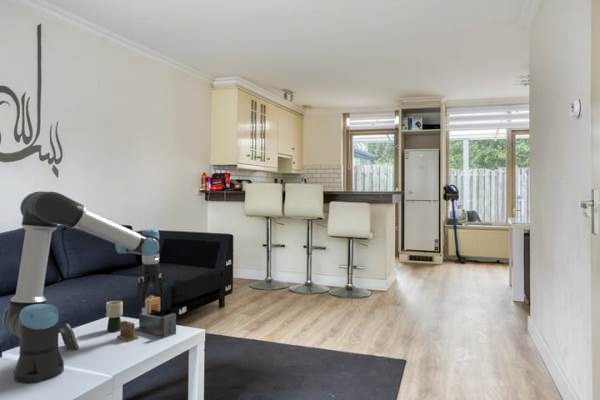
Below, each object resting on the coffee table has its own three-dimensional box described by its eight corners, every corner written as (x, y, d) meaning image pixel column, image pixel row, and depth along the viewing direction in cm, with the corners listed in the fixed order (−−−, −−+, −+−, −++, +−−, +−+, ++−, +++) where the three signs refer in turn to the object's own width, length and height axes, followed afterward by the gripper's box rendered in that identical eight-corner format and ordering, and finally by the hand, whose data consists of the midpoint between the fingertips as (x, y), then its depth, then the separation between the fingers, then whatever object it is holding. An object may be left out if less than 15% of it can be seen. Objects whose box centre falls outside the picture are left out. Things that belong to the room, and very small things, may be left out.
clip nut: (148, 313, 194) (148, 297, 194) (141, 311, 197) (141, 296, 197) (160, 310, 200) (160, 294, 200) (153, 308, 202) (153, 293, 202)
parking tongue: (128, 341, 184) (128, 325, 183) (116, 338, 188) (116, 322, 188) (138, 338, 188) (138, 322, 188) (126, 335, 192) (126, 319, 192)
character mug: (112, 326, 205) (112, 299, 205) (127, 326, 204) (127, 299, 204) (100, 333, 194) (100, 305, 194) (116, 334, 193) (116, 305, 193)
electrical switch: (79, 349, 174) (76, 327, 174) (65, 353, 171) (62, 331, 170) (74, 343, 182) (72, 322, 181) (61, 347, 178) (58, 325, 178)
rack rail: (163, 338, 189) (163, 317, 188) (134, 330, 199) (134, 311, 199) (176, 333, 194) (176, 314, 194) (147, 326, 205) (147, 307, 205)
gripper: (138, 266, 188) (138, 318, 188) (172, 260, 204) (172, 308, 205) (127, 265, 192) (127, 316, 192) (162, 259, 208) (162, 306, 209)
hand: (151, 312), depth 198 cm, fingers closed on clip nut, 6 cm apart
